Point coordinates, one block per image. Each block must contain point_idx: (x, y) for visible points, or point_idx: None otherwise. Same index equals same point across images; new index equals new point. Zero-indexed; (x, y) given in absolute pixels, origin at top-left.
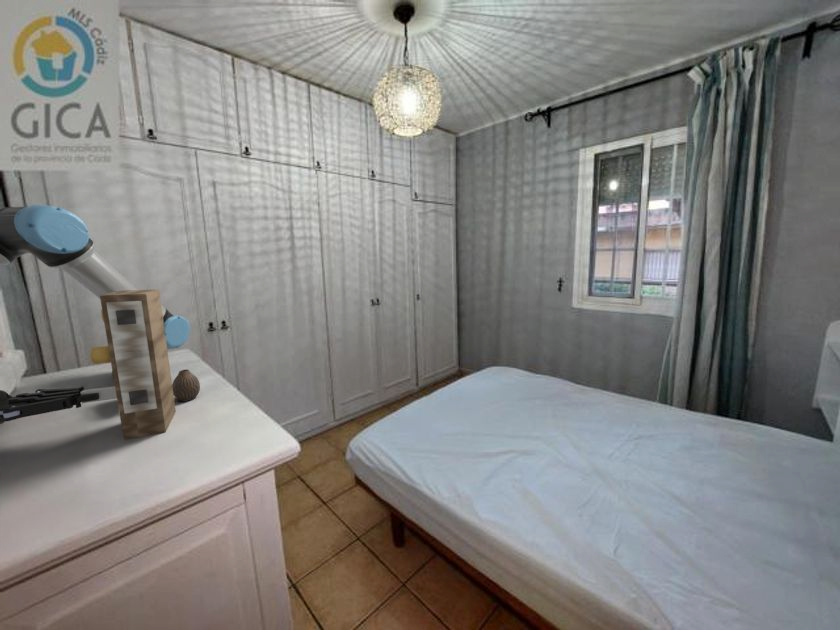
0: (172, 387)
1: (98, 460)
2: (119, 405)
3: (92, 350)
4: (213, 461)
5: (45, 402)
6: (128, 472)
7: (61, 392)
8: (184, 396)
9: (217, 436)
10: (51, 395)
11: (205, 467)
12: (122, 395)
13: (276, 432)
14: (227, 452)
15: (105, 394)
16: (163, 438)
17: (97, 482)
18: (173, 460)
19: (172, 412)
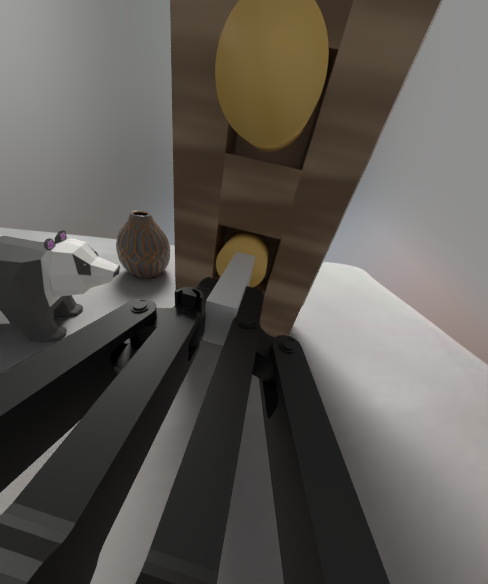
0: (140, 254)
1: (355, 392)
2: (306, 292)
3: (318, 17)
4: (378, 298)
5: (339, 449)
6: (399, 356)
7: (131, 378)
8: (165, 266)
9: (321, 285)
10: (125, 445)
11: (389, 304)
12: (321, 264)
13: (330, 263)
14: (361, 289)
15: (247, 285)
16: (302, 316)
17: (430, 391)
18: (371, 319)
19: None
